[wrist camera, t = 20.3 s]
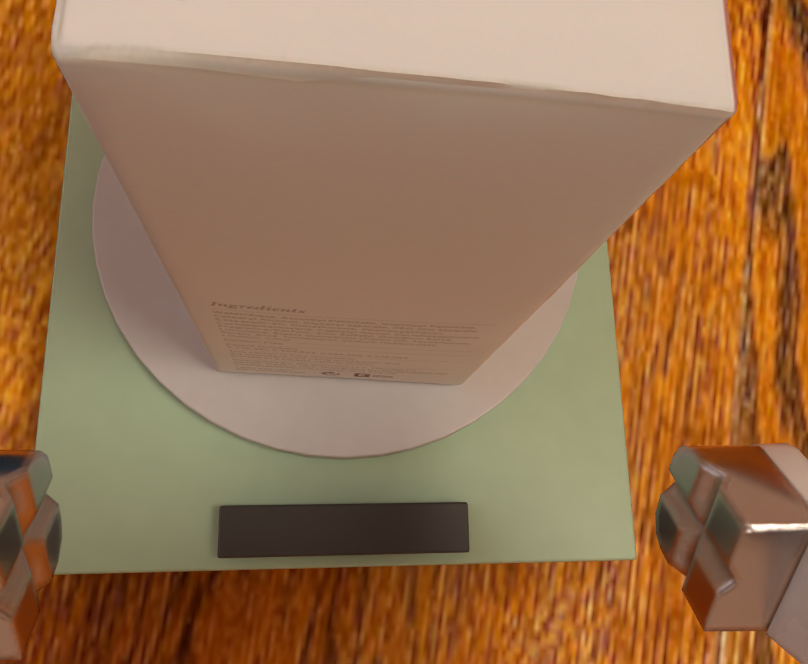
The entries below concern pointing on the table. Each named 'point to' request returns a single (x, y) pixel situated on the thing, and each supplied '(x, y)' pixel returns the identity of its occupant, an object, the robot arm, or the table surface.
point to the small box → (387, 159)
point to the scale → (311, 429)
